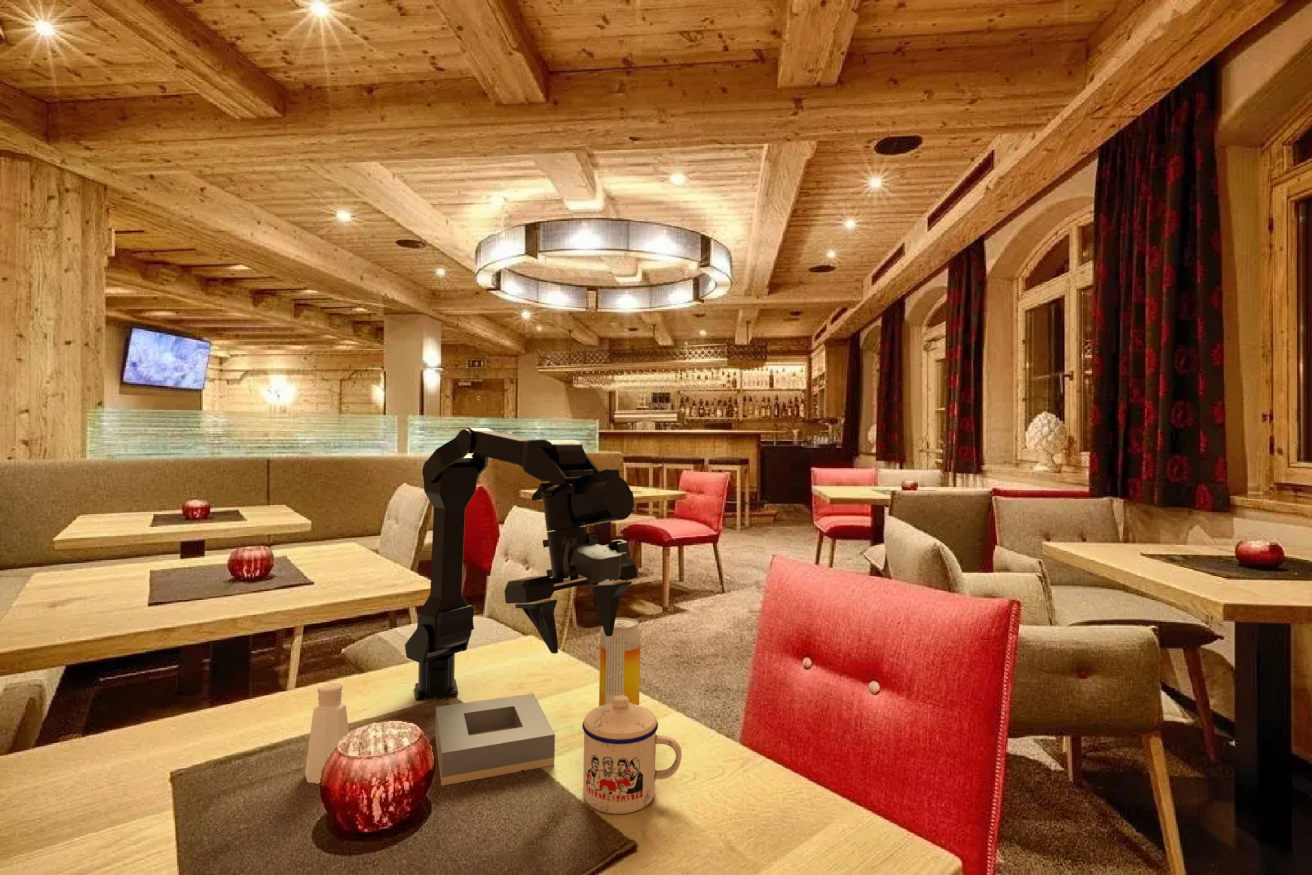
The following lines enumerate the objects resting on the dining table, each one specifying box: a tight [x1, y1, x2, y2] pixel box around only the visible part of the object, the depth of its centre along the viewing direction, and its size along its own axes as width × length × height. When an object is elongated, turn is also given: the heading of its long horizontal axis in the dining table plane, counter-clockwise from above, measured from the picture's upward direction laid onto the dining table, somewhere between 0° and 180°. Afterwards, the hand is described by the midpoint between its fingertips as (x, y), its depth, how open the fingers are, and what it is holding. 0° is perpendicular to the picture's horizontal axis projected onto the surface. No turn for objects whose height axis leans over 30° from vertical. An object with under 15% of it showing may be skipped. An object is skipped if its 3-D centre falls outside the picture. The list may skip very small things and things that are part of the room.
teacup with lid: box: [581, 695, 682, 815], centre depth 75 cm, size 12×9×12 cm
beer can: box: [598, 617, 642, 707], centre depth 95 cm, size 6×6×15 cm
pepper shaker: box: [304, 682, 350, 785], centre depth 79 cm, size 5×5×11 cm
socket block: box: [434, 692, 556, 787], centre depth 86 cm, size 14×14×4 cm
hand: (583, 644), depth 84 cm, fingers open, 9 cm apart
